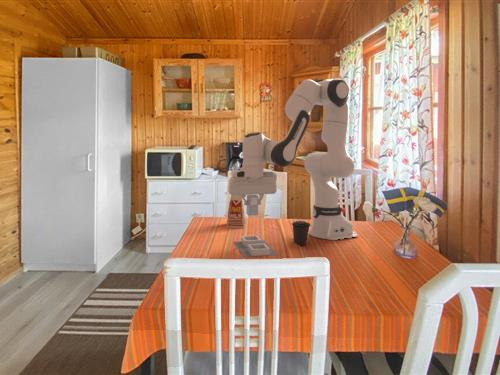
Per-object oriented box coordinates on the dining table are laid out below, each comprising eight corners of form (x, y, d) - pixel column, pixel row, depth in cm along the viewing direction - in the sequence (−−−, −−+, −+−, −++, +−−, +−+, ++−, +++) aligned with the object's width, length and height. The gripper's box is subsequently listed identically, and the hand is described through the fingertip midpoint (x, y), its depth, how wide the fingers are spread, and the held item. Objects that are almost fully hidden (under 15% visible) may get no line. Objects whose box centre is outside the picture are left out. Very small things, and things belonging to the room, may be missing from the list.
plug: (255, 213, 172) (255, 194, 170) (258, 215, 167) (258, 196, 166) (246, 213, 171) (246, 194, 169) (249, 216, 166) (249, 197, 165)
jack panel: (264, 242, 177) (264, 234, 176) (278, 257, 158) (278, 248, 157) (232, 244, 173) (233, 236, 173) (243, 259, 154) (243, 250, 154)
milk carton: (244, 228, 200) (245, 188, 197) (226, 227, 201) (226, 188, 197) (245, 223, 209) (246, 185, 206) (227, 223, 210) (228, 185, 206)
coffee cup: (290, 241, 180) (291, 219, 178) (308, 241, 180) (309, 220, 178) (291, 246, 172) (292, 224, 170) (310, 247, 172) (311, 224, 170)
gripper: (274, 170, 172) (273, 202, 174) (227, 171, 167) (227, 204, 169) (279, 172, 166) (278, 205, 168) (230, 173, 161) (230, 207, 163)
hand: (252, 204), depth 169 cm, fingers closed on plug, 4 cm apart
